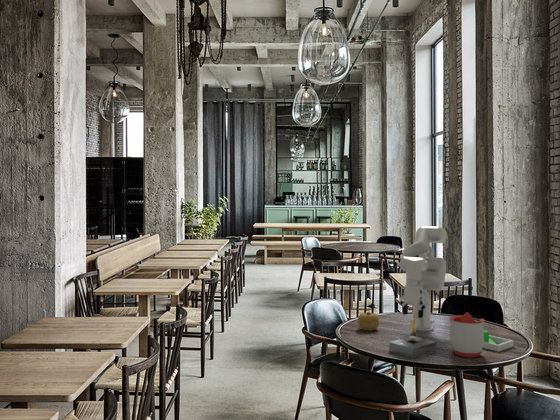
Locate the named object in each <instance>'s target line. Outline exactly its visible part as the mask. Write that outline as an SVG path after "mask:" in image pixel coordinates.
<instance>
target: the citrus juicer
mask: <svg viewBox="0 0 560 420" xmlns="http://www.w3.org/2000/svg"><path fill="white" fill-rule="evenodd" d="M449 319H450V329H449V330H450V331H449V332H450V333H449V334H450V336H449V337H450V344H451V348H452V349H451V350H452V351H453V353H454V355H456V356H458V357H459V356H460V357H464V358H467V359H469V358H476V357H480V355H481V353H482V350H483V348H482V347H483V343H484V330H485V322H486V320H485V319H484V318H480V319H479V320H478V321H476V320H475V319H474V317H473V315H471V314H470V313H469V312H465V313H464V314H461V315H458V314H457V315H452V316H450V317H449Z"/></svg>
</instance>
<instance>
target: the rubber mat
mask: <svg viewBox="0 0 560 420" xmlns="http://www.w3.org/2000/svg"><path fill="white" fill-rule="evenodd" d="M406 337H410V334H409V335H405V336H402V337H399V339H403V338H406ZM416 337H419V338H423V339H426V338H424V337H421V336H417V335H416Z"/></svg>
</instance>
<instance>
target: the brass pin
mask: <svg viewBox="0 0 560 420" xmlns="http://www.w3.org/2000/svg"><path fill="white" fill-rule="evenodd" d="M409 335H410V336H415V337H416V336H417V330H416V319H413V318H410V319H409Z"/></svg>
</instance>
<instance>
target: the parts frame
mask: <svg viewBox="0 0 560 420" xmlns="http://www.w3.org/2000/svg"><path fill="white" fill-rule="evenodd" d="M489 339H491V340H492V341H493V342H495V343H496V344H493V343H489V342H484V343H483V347H482V349H487V350H491V351H493V352H502V351H505V350H507V349H510V348H513V347H514V340H513V339H510V338H509V339H507V338H504V337H500V336H499V337H498V336H497V335H491V334H489Z"/></svg>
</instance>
